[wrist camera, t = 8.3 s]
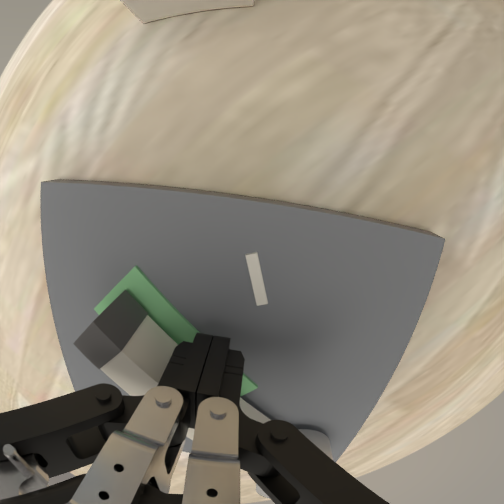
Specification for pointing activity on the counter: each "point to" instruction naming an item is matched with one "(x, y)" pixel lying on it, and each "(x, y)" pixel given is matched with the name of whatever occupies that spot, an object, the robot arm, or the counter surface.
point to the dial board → (244, 289)
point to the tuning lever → (146, 357)
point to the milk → (177, 7)
